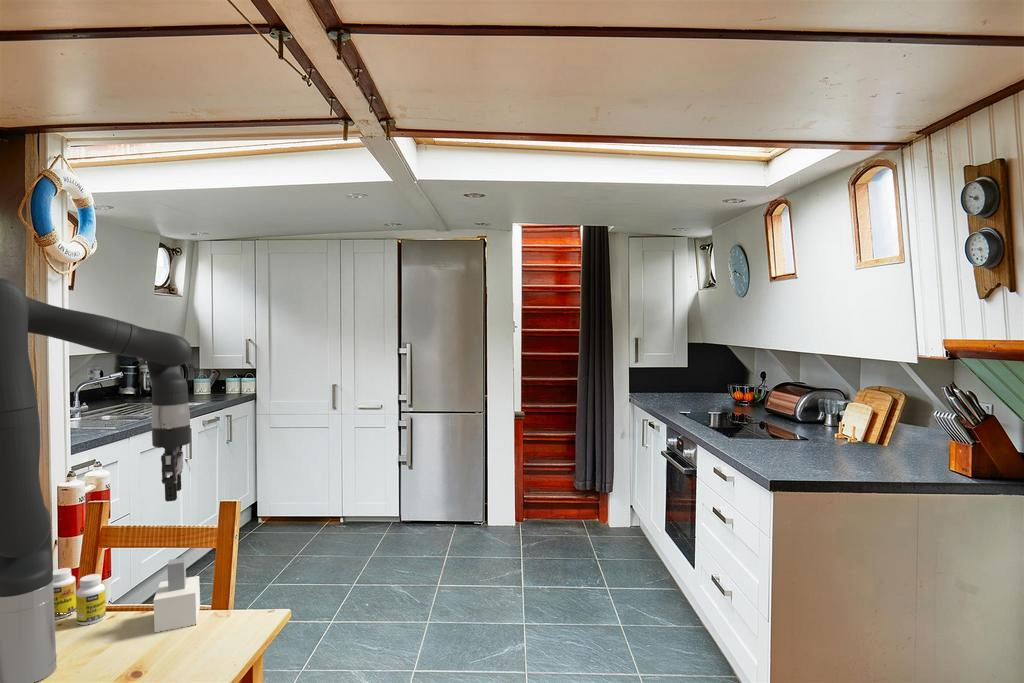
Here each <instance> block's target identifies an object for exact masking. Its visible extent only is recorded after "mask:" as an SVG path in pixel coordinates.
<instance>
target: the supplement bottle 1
mask: <svg viewBox="0 0 1024 683" xmlns="http://www.w3.org/2000/svg"><path fill="white" fill-rule="evenodd" d="M76 581H77V579H76V576H74V575H72V568H70V567H63V568H58V569H55V570H54V569H53V590H54V614H55V620H61V619H60V618H62V619H64V618H63V617H65V618H68V617H67V616H66V615H67V614H72V615H73V614H75V613H76V592H77V586H76V585H77V583H76ZM71 612H72V613H71ZM57 613H58V614H57ZM60 613H63V614H60ZM64 613H66V614H64Z"/></svg>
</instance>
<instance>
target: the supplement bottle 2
mask: <svg viewBox="0 0 1024 683" xmlns="http://www.w3.org/2000/svg"><path fill="white" fill-rule="evenodd" d="M101 582H102V574H99V573H90V574H87V575H85V576H82V577H81V578H80V579H79V588H78V589H76V611H75V613H76V624H78V625H79V624H80V626H88V624H89V625H93V624H96V623H99V622H101V621H102V620H104V619H105V618H106V613H107V612H106V586H105V584H103V583H101Z"/></svg>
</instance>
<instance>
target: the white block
mask: <svg viewBox="0 0 1024 683" xmlns="http://www.w3.org/2000/svg"><path fill="white" fill-rule="evenodd" d="M200 592H201V590H200V575H196V576H189V577H187V567H186V557H180V558H179V557H178V558H173V559H169V560H168V562H167V580H164V581H160V582H159V584H158V587H157V589H156V593H155V595H154V598H153V618H154V620H153V623H154V633H155V632H157V633H161V632H160V631H162V632H167V631H166V630H168V631H172V630H171V629H173V630H177V628H178V629H182V628H181V627H183V628H187V626H189V627H192V626H191V625H194V626H196V625H195V624H198V620H197V619H199V614H198V613H200V608H201V593H200Z"/></svg>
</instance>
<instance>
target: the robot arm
mask: <svg viewBox="0 0 1024 683" xmlns="http://www.w3.org/2000/svg"><path fill="white" fill-rule="evenodd" d="M29 334H34V335H35V334H36V335H39V336H44V337H48V338H53V339H57V340H60V341H65V342H69V343H72V344H76V345H79V346H83V347H86V348H90V349H93V350H97V351H101V352H105V353H108V354H113V355H118V356H123V357H130V358H138V359H141V360H145V361H146V366H147V371H148V375H149V379H150V382H151V398H152V399H151V403H152V405H151V408H152V409H151V417H150V419H151V441H152V442H151V444H152V447H154V448H156V449H157V448H158V449H164V452H163V453H162V455H161V456H160V461H161V476H162V477H161V482H162V484H163V485H164V499H165V502H174V501H177V499H178V492H180V491H181V490H182V474H183V467H184V451H183V446H186V445H188V444H189V445H190V443H191V441H192V436H191V434H192V433H191V431H192V430H191V411H190V407H189V405H190V404H189V389H188V387H189V386H188V382H187V380H186V379H185V378H184V377H183V375H182V371H181V370H182V369H181V366H183V365H185V364H186V363H187V362H188V361H190V358H191V357H192V354H193V351H192V347H191V343H190V342H189V341H188V340H187V339H186V338H184V337H182V336H180V335H177V334H174V333H170V332H166V331H161V330H156V329H150V328H146V327H142V326H139V325H136V324H133V323H131V322H126V321H124V320H120V319H115V318H111V317H108V316H104V315H100V314H96V313H90V312H85V311H80V310H74V309H69V308H64V307H61V306H56V305H52V304H48V303H46V302H42V301H39V300H37V299H34V298H31V297H29V296H27V295H26V292H24V290H23V289H22V288H21V286H19V285H18V284H17V283H16V282H13V281H11V280H9V279H5V278H0V683H34V682H35V683H38V682H40V681H41V680H43V679H45V678H47V677H49V676H51V674H53V673H54V672H55V670H56V669H57V647H56V646H57V645H56V621H55V620H56V619H55V614H54V590H53V571H54V569H53V568H54V565H53V563H54V562H53V550H52V549H53V548H52V521H51V514H50V511H49V509H48V508H47V507H46V506H45V501H44V497H43V493H42V488H41V483H40V460H41V458H40V457H41V424H40V423H41V422H40V415H39V406H38V399H37V398H38V397H37V393H36V388H35V379H34V375H33V370H32V365H31V361H30V360H31V359H30V357H29V356H30V355H29ZM37 681H38V682H37Z"/></svg>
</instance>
